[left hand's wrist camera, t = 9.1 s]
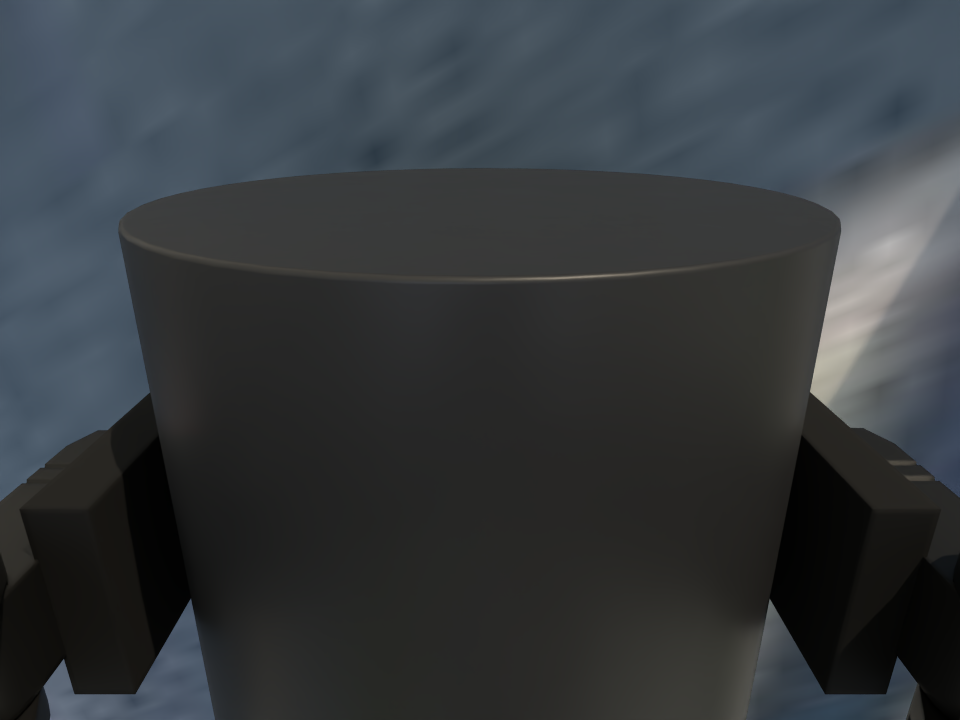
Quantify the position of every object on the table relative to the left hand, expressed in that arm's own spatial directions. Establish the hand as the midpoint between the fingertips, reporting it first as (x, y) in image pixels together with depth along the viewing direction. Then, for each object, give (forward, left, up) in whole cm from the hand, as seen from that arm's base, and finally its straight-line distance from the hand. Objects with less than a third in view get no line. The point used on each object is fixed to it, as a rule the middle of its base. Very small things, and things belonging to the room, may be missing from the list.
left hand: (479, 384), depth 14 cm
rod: (+4, +8, -1) cm, 9 cm away
